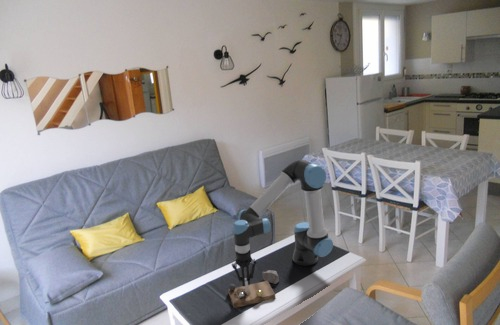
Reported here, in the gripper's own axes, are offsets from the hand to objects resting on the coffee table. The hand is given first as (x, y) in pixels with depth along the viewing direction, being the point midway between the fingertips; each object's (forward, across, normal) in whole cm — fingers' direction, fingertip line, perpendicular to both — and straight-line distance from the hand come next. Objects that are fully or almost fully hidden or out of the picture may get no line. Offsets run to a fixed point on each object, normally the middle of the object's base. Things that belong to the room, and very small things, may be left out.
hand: (246, 290), depth 198 cm
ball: (+2, +3, 0) cm, 4 cm away
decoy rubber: (0, +7, -5) cm, 8 cm away
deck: (+4, -2, 0) cm, 5 cm away
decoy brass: (0, -5, +5) cm, 8 cm away
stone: (+4, -17, -10) cm, 20 cm away
